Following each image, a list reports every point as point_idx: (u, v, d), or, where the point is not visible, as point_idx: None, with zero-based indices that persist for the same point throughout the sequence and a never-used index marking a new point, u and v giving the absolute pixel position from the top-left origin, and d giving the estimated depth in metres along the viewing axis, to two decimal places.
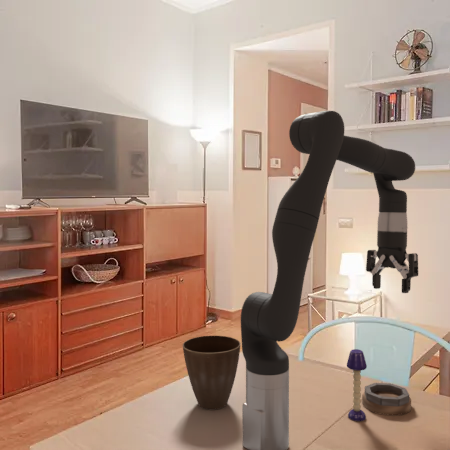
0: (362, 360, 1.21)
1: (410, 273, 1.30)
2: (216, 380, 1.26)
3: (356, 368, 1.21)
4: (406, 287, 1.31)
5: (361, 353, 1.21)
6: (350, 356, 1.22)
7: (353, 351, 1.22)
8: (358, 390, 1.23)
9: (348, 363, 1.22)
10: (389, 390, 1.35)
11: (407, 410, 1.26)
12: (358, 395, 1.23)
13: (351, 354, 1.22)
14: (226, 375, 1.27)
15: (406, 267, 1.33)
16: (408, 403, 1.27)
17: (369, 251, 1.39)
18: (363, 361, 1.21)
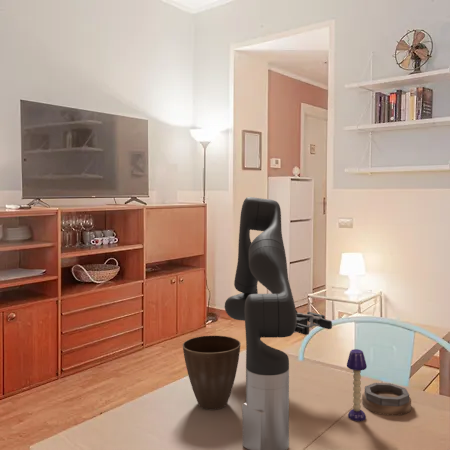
0: (362, 360, 1.21)
1: (321, 315, 1.40)
2: (216, 380, 1.26)
3: (356, 368, 1.21)
4: None
5: (361, 353, 1.21)
6: (350, 356, 1.22)
7: (353, 351, 1.22)
8: (358, 390, 1.23)
9: (348, 363, 1.22)
10: (389, 390, 1.35)
11: (407, 410, 1.26)
12: (358, 395, 1.23)
13: (351, 354, 1.22)
14: (226, 375, 1.27)
15: None
16: (408, 403, 1.27)
17: None
18: (363, 361, 1.21)
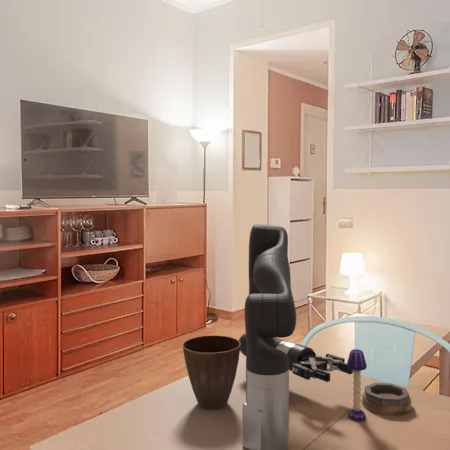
0: (362, 360, 1.21)
1: (341, 358, 1.35)
2: (216, 380, 1.26)
3: (356, 368, 1.21)
4: None
5: (361, 353, 1.21)
6: (350, 356, 1.22)
7: (353, 351, 1.22)
8: (358, 390, 1.23)
9: (348, 363, 1.22)
10: (389, 390, 1.35)
11: (407, 410, 1.26)
12: (358, 395, 1.23)
13: (351, 354, 1.22)
14: (226, 375, 1.27)
15: None
16: (408, 403, 1.27)
17: None
18: (363, 361, 1.21)
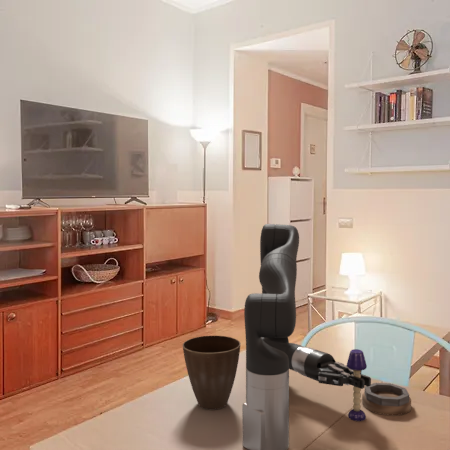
0: (362, 360, 1.21)
1: None
2: (216, 380, 1.26)
3: (356, 368, 1.21)
4: None
5: (361, 353, 1.21)
6: (350, 356, 1.22)
7: (353, 351, 1.22)
8: (358, 390, 1.23)
9: (348, 363, 1.22)
10: (389, 390, 1.35)
11: (407, 410, 1.26)
12: (358, 395, 1.23)
13: (351, 354, 1.22)
14: (226, 375, 1.27)
15: None
16: (408, 403, 1.27)
17: (320, 372, 1.25)
18: (363, 361, 1.21)
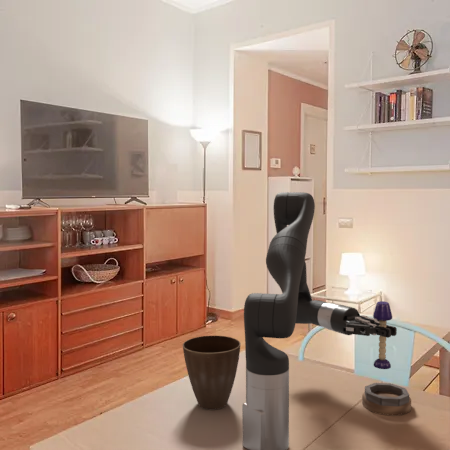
0: (388, 310, 1.27)
1: None
2: (216, 380, 1.26)
3: (383, 318, 1.27)
4: None
5: (387, 304, 1.27)
6: (377, 307, 1.28)
7: (379, 302, 1.28)
8: (384, 340, 1.29)
9: (375, 314, 1.28)
10: (389, 390, 1.35)
11: (407, 410, 1.26)
12: (384, 344, 1.29)
13: (378, 305, 1.28)
14: (226, 375, 1.27)
15: None
16: (408, 403, 1.27)
17: (347, 323, 1.31)
18: (389, 312, 1.27)
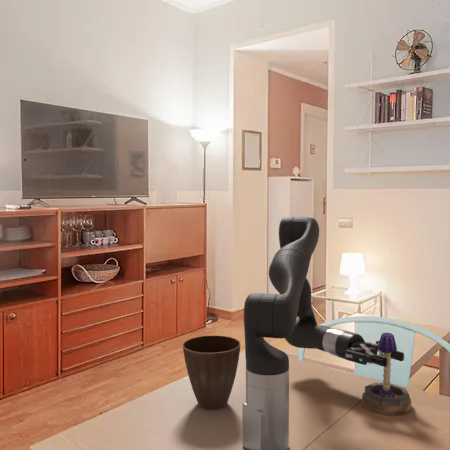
0: (393, 342, 1.28)
1: None
2: (216, 380, 1.26)
3: (387, 350, 1.28)
4: None
5: (392, 336, 1.28)
6: (381, 339, 1.29)
7: (384, 334, 1.29)
8: (388, 371, 1.30)
9: (379, 345, 1.29)
10: None
11: (407, 410, 1.26)
12: (388, 376, 1.30)
13: (382, 337, 1.29)
14: (226, 375, 1.27)
15: None
16: (408, 403, 1.27)
17: (347, 349, 1.33)
18: (394, 344, 1.28)
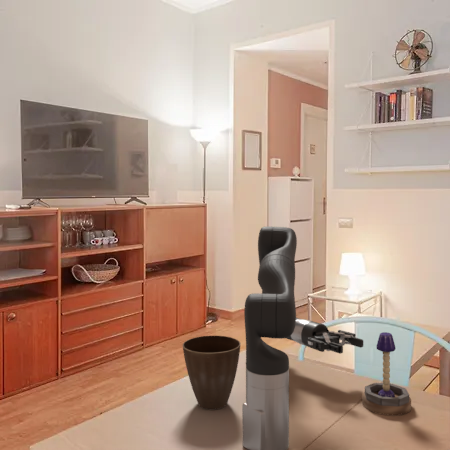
0: (391, 342, 1.28)
1: (352, 333, 1.47)
2: (216, 380, 1.26)
3: (386, 350, 1.28)
4: None
5: (390, 335, 1.29)
6: (380, 338, 1.29)
7: (382, 334, 1.30)
8: (387, 371, 1.30)
9: (378, 345, 1.30)
10: None
11: (407, 410, 1.26)
12: (387, 375, 1.30)
13: (381, 337, 1.29)
14: (226, 375, 1.27)
15: None
16: (408, 403, 1.27)
17: (310, 337, 1.43)
18: (392, 343, 1.28)
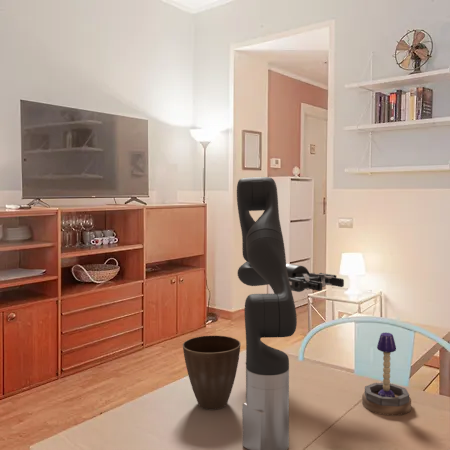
0: (392, 342, 1.28)
1: (333, 275, 1.44)
2: (216, 380, 1.26)
3: (386, 350, 1.28)
4: None
5: (391, 336, 1.28)
6: (380, 339, 1.29)
7: (383, 334, 1.29)
8: (388, 371, 1.30)
9: (378, 345, 1.29)
10: None
11: (407, 410, 1.26)
12: (388, 376, 1.30)
13: (381, 337, 1.29)
14: (226, 375, 1.27)
15: None
16: (408, 403, 1.27)
17: (289, 277, 1.40)
18: (393, 343, 1.28)
